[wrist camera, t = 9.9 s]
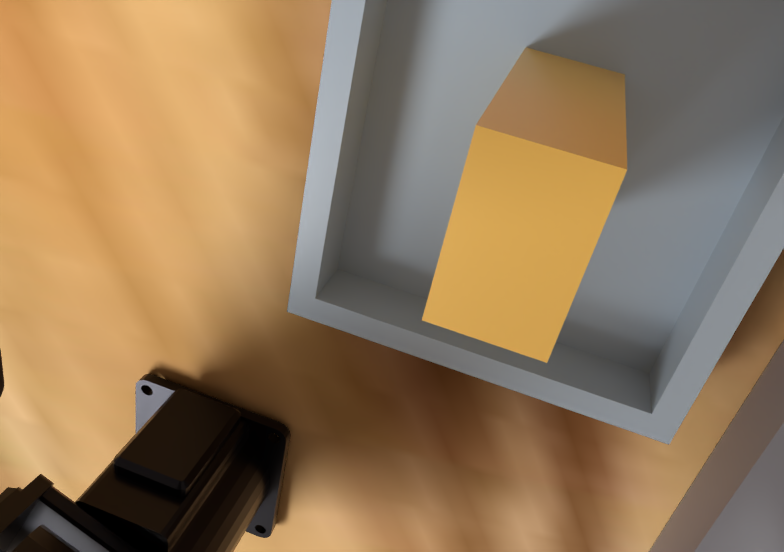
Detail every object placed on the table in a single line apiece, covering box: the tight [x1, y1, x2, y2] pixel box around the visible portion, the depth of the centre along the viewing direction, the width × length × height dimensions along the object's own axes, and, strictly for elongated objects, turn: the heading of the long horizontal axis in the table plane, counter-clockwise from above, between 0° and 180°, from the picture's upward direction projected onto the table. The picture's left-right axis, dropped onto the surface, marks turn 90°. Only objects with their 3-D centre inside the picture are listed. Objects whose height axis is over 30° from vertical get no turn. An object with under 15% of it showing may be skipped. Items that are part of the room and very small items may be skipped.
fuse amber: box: [422, 47, 627, 363], centre depth 15 cm, size 4×2×7 cm, turn 168°
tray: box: [287, 0, 784, 444], centre depth 17 cm, size 14×12×2 cm
